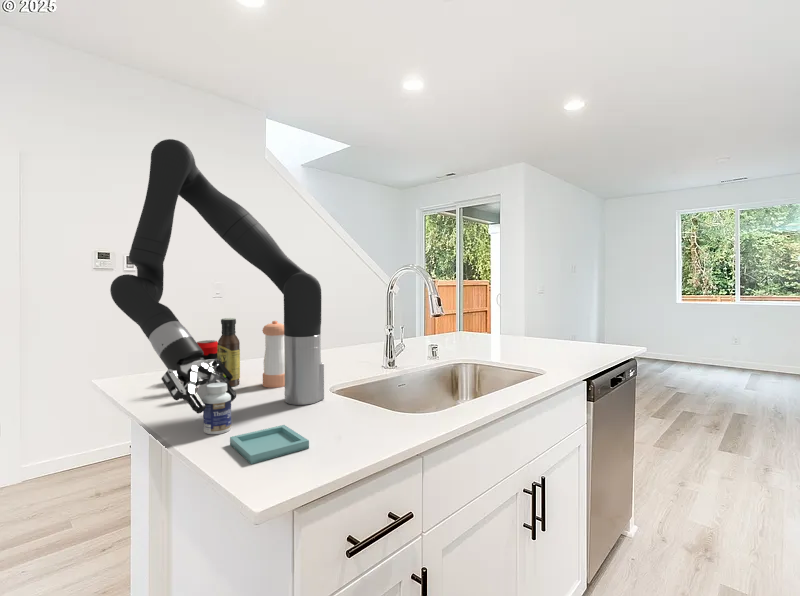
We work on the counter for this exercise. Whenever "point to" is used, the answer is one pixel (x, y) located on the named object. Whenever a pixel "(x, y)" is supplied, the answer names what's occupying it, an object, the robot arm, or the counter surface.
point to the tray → (268, 443)
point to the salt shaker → (274, 355)
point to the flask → (204, 385)
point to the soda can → (209, 348)
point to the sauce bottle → (229, 350)
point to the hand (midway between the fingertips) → (218, 404)
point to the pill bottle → (217, 409)
